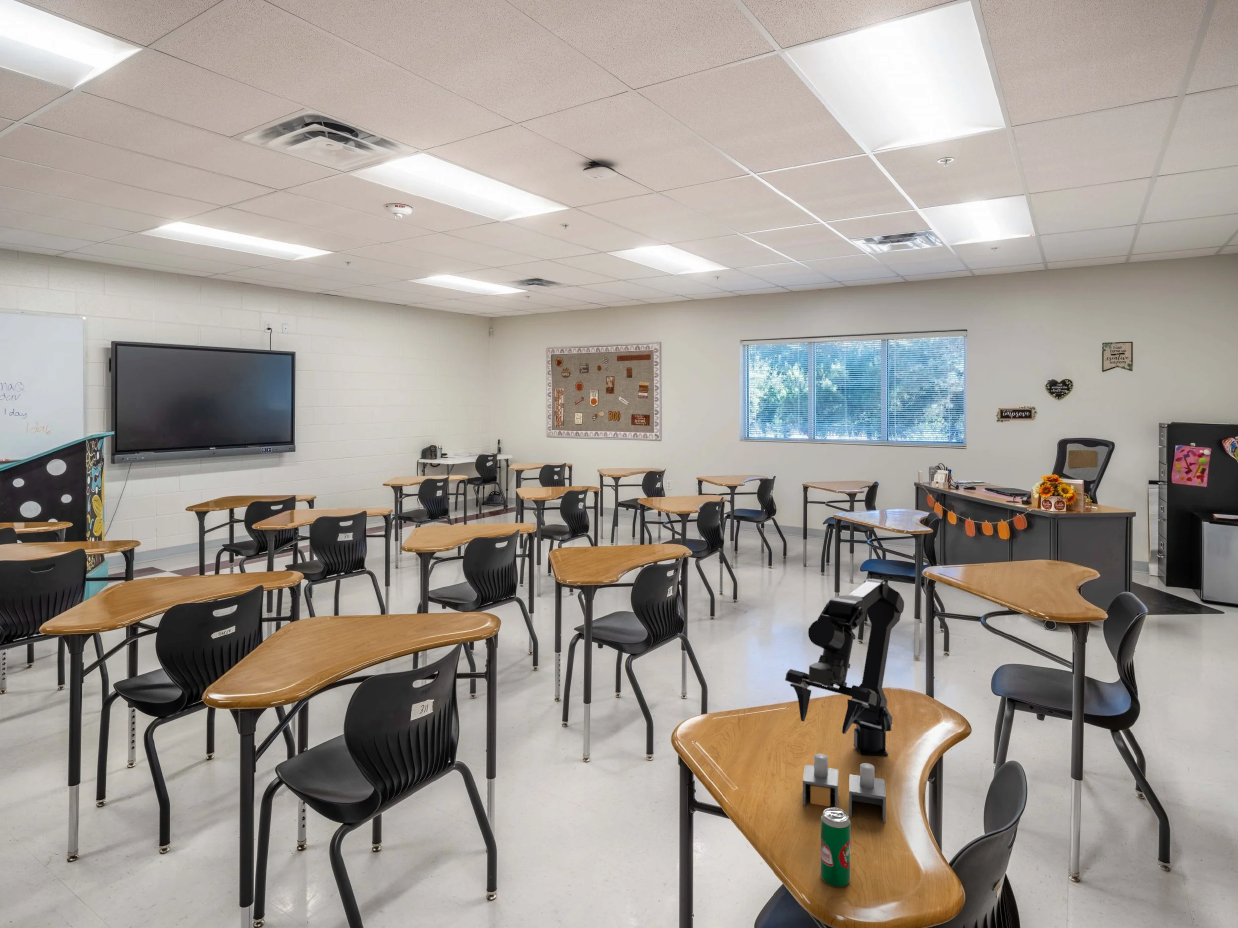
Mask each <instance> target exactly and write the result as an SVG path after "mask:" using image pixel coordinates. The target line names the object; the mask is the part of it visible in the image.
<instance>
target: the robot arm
mask: <svg viewBox="0 0 1238 928" xmlns="http://www.w3.org/2000/svg"><path fill="white" fill-rule="evenodd" d="M904 608H905V600H904V599H903V597H902V594H901V593H900V592H898V591H897V590H896V589H894V588H892V587H891V586H890V585H889V584H888V583H887V581H884V580H882V579H875V578H867V579H865V580H864V581H863V583H862V584H861V585H859V586H858V587H856V588H855V589H854V590H852V592H850V593H848V594H846V595H836V596H832V597H831V598H830V599H829V601H827V603H826V604H825V606H824V607H823V609H822V611H821V612H820V614H819V616H818V617H817V620H815V621H813V622H812V623H811V625H810V626H809V627H808V632H807V634H808V635H807V636H808V638H809V640H810V642H811V643H812V644H813V645H815V646H816V647H817V646H818V647H819V648H821V649H823V650H822V654H819V655H820V656H819V659H818V661H817V662H814V663H811V664H810V665H809V667H808V673H806V672H804V671H800V670H796V669H792V668H790V669H789V670H787V672H786V673H785V679H784V680H785V681H786V682H788V683H790V684H789V685H790V687H791V688H793V689H794V692H795V693H796V696H797V701H798V708H799V715H800V721H801V722H805V721H806V717H807V714H808V709H809V704H810V699H811V694H812V689H810V688H809V687H814V688H817V689H822V690H825V691H829V692H832V693H836V694H840V695H844V696H848V697H851V699H847V708H846V712H845V717H844V720H843V725H842V730H841V733H842V734H843V735H846V734H847V732H848V731H849V729H850V728H851V726H852V725H853V724H855V725H856V726H855V728H854V729H853V744H854V746H855V748H856V749H857V750H858V752H859V754H861V755H862V756H889V752H888V750H887V748H886V747H887V745H886V744H887V743H886V741H887V732H891V731H892V724H893V717H892V715H891V713H890V711H889V709H888V700H887V697H886V695H885V692H884V689H883V685H884V684H883V682H884V676H885V672H886V671H885V670H886V667H887V665H886V664H887V658H888V650H889V645H890V639H891V632H892V629H893V628H894V627H896V625H897V624H898V623H899V622H900V620H901V616H902V614H903V612H904ZM865 611H866V614H867V618H868V620H869V622H870V624H871V626H870V632H869V637H868V645H867V650H866V657H865V663H864V670H863V675H862V681H861V684H859V685H854V684H852V685H851V687H849V686H847V684H848V683H847V676H848V670H849V669H851V663H850V660H851V659H850V658H851V655H852V649H853V643H854V641H855V640H856V638H857V637H856V635H855V633H854V632H853V630H855V629H856V628H858V627H859V626H860V625H861V623H862V622H863V621H864V620H865V615H866V614H865ZM834 685H836V687H834ZM837 686H838V687H837ZM808 688H809V689H808Z"/></svg>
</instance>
